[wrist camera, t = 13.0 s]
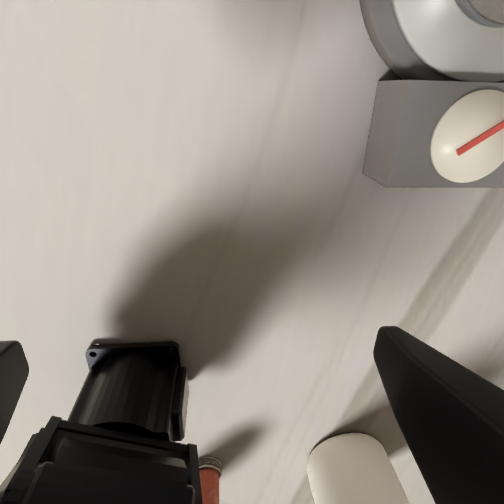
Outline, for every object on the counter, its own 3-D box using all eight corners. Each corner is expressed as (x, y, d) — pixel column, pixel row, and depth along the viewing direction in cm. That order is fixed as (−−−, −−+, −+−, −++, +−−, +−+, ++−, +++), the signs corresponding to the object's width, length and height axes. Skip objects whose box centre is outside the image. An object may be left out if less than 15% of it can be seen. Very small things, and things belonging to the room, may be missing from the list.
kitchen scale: (330, 173, 20) (351, 189, 17) (385, -255, 13) (439, -365, 10) (514, 174, 21) (565, 189, 18) (658, -219, 14) (785, -307, 11)
